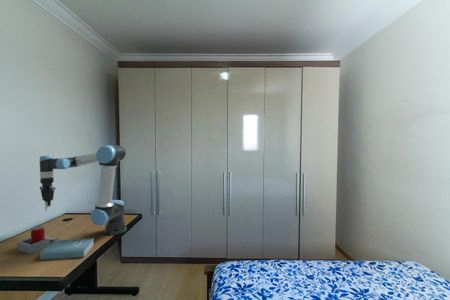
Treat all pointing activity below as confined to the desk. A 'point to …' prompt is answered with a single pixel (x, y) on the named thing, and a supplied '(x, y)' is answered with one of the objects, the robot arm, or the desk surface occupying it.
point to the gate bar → (50, 239)
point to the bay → (33, 245)
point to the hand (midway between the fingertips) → (48, 210)
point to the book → (67, 249)
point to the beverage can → (37, 234)
